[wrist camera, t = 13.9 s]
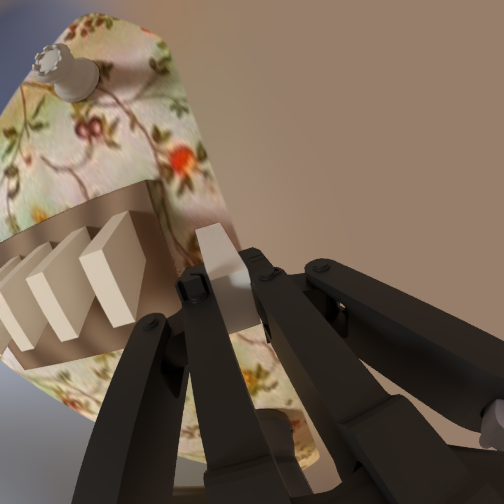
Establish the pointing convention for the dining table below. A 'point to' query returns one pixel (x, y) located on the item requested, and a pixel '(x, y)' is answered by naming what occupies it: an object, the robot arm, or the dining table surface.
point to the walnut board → (96, 323)
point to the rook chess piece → (66, 72)
